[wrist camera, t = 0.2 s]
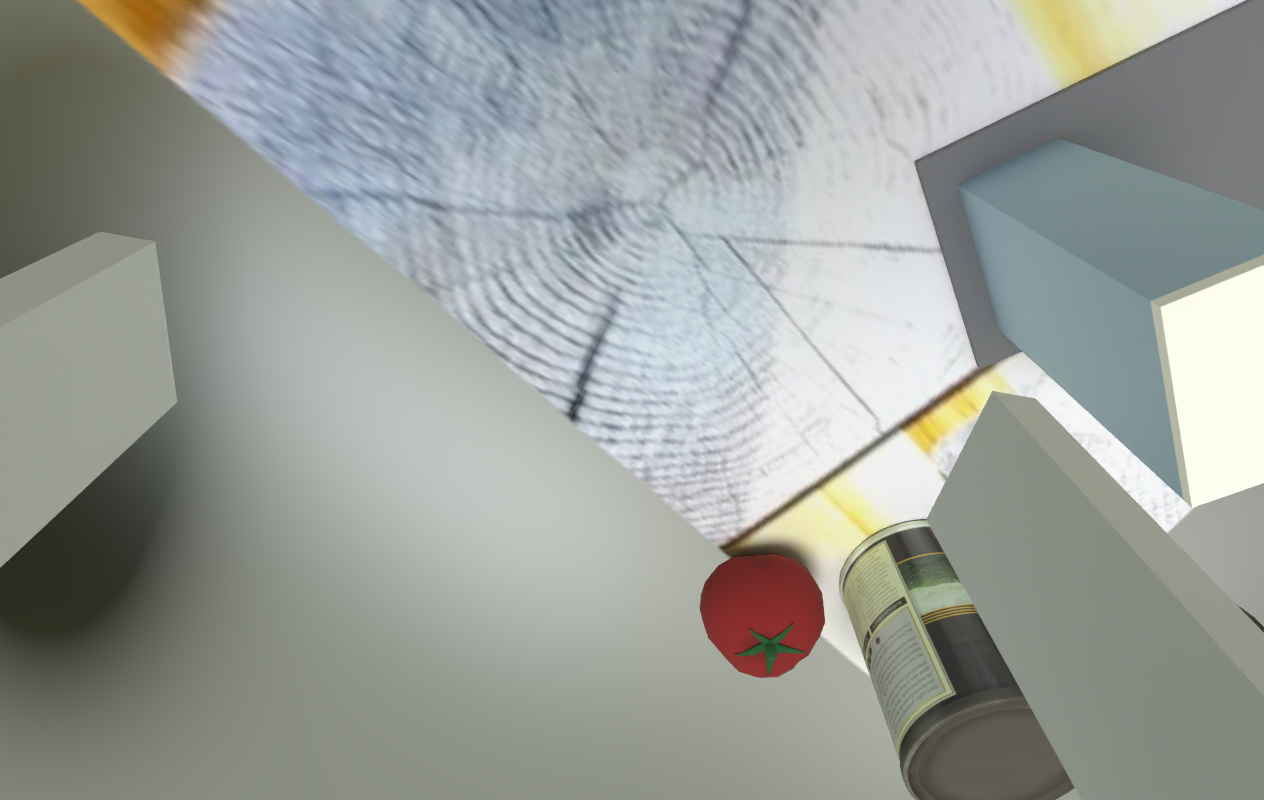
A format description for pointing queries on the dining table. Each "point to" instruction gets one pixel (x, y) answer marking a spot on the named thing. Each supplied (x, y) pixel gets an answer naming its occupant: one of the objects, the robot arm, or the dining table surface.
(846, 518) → the dining table surface
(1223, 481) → the block
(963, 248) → the mat
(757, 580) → the tomato
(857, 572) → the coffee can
